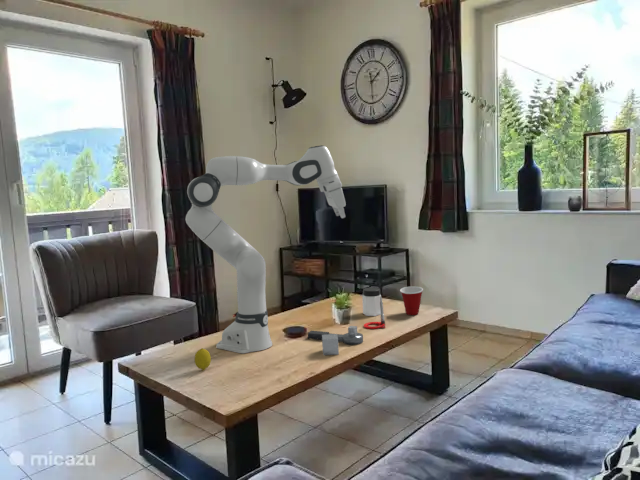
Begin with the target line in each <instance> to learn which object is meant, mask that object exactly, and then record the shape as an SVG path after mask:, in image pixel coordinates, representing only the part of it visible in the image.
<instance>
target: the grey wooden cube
mask: <svg viewBox="0 0 640 480" xmlns="http://www.w3.org/2000/svg"><path fill="white" fill-rule="evenodd" d="M337 334H338V333H331V334H328V335H322V340H321V343H322V344H321V345H322V346H321V347H322V355H323V356H331V355H332V356H334V355H335V356H337V355H339V353H340V352H339V350H340V349H339V341H338V336H337Z"/></svg>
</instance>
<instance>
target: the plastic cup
mask: <svg viewBox="0 0 640 480" xmlns="http://www.w3.org/2000/svg"><path fill="white" fill-rule="evenodd" d="M399 291H400V293H401V296H402V301H403V305H404V311H405V314H406V315H408V316H417V315H419V313H420V307H421V302H422V301H421V300H422V294H423V291H424V288H423V287H421V286H405V287H402V288H400V289H399Z"/></svg>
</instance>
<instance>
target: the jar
mask: <svg viewBox="0 0 640 480" xmlns="http://www.w3.org/2000/svg"><path fill="white" fill-rule="evenodd" d="M361 296H362V314H364V315H363V316H366V317H376V316H381V309H380V297H382V295H381V289H380V288H378V287H364V288H363V289H362V295H361Z"/></svg>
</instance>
